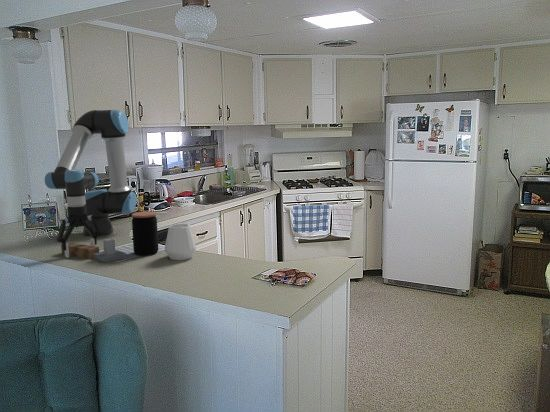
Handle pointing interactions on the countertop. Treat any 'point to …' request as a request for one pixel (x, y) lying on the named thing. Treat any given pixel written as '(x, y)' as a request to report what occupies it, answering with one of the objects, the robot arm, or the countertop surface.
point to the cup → (180, 242)
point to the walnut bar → (81, 250)
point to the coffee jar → (145, 233)
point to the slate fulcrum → (109, 252)
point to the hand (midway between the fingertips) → (80, 254)
